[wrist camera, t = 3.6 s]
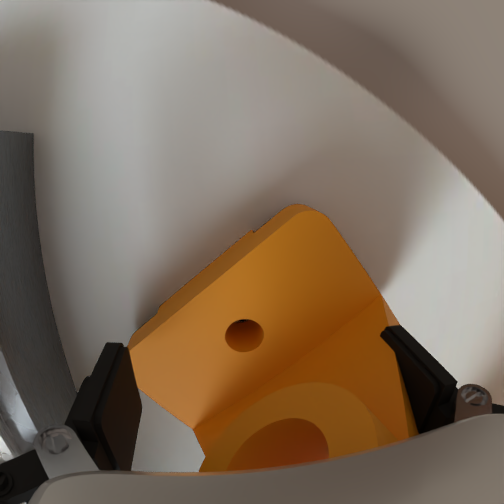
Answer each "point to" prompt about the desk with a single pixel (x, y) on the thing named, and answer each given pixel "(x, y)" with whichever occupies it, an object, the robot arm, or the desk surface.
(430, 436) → the robot arm
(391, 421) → the bracket
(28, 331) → the grey square tray
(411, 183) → the desk surface
